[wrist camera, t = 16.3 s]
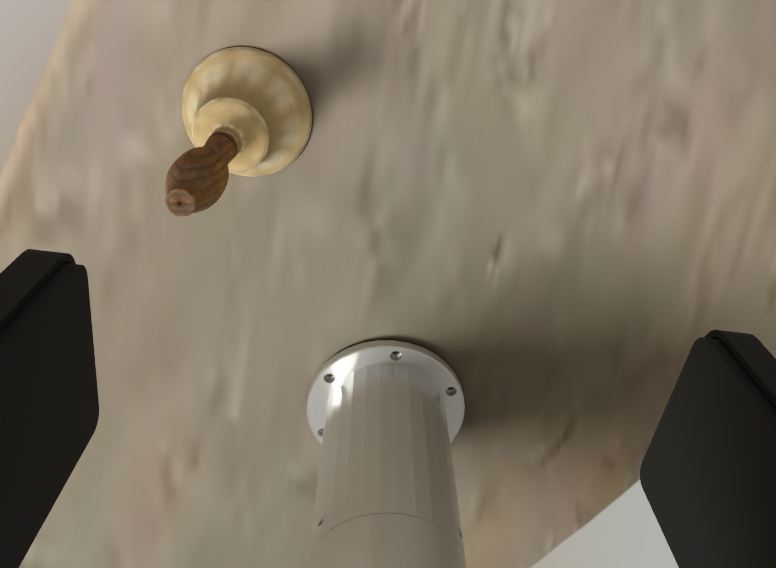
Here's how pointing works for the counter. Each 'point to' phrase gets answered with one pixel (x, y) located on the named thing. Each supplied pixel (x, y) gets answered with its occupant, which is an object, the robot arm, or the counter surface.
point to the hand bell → (236, 125)
